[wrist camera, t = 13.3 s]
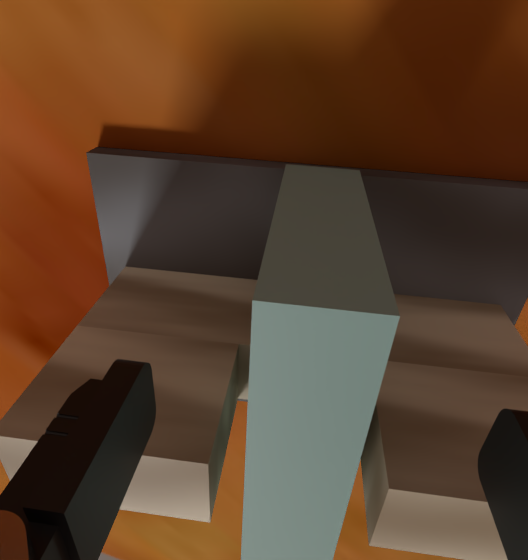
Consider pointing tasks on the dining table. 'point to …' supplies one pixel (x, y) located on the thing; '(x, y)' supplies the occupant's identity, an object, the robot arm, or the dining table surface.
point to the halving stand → (237, 335)
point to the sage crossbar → (313, 363)
